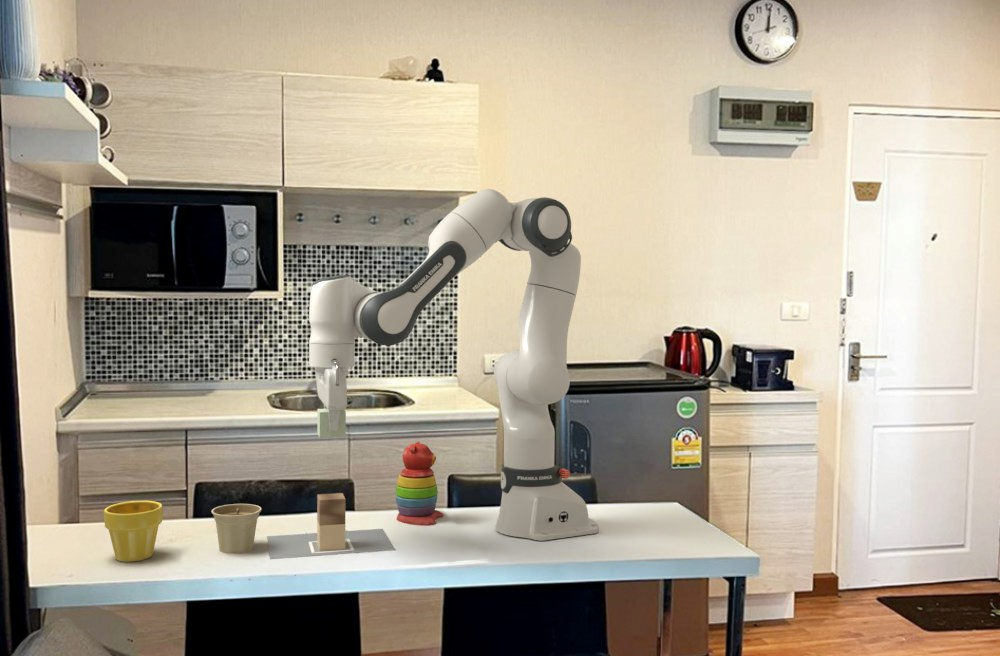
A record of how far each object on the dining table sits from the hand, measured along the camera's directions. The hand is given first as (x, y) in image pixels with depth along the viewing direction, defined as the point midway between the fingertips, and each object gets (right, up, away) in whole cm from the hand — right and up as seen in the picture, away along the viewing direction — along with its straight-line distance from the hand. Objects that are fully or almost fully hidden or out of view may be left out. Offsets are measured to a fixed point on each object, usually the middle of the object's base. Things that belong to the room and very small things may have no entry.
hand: (331, 427), depth 175 cm
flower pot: (-18, -25, -1) cm, 31 cm away
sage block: (0, -2, 0) cm, 2 cm away
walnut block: (0, -19, +1) cm, 19 cm away
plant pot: (-37, -25, -5) cm, 45 cm away
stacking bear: (+15, -24, +23) cm, 37 cm away
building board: (-1, -25, +3) cm, 25 cm away
